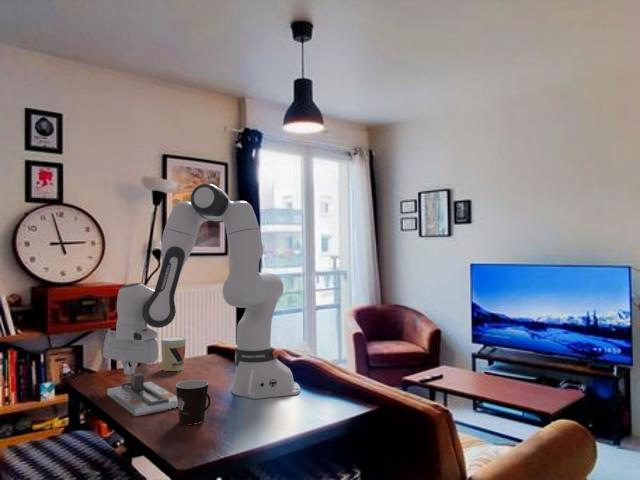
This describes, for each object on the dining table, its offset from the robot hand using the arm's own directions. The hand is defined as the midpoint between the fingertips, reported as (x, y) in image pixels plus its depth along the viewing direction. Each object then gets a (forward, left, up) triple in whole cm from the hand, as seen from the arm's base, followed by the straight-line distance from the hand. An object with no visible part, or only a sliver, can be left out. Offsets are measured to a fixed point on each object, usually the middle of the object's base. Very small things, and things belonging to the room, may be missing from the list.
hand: (129, 374), depth 162 cm
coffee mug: (-24, +34, -6) cm, 42 cm away
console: (-7, +12, -5) cm, 15 cm away
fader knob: (-4, +7, -3) cm, 8 cm away
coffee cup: (-11, -28, -6) cm, 30 cm away
